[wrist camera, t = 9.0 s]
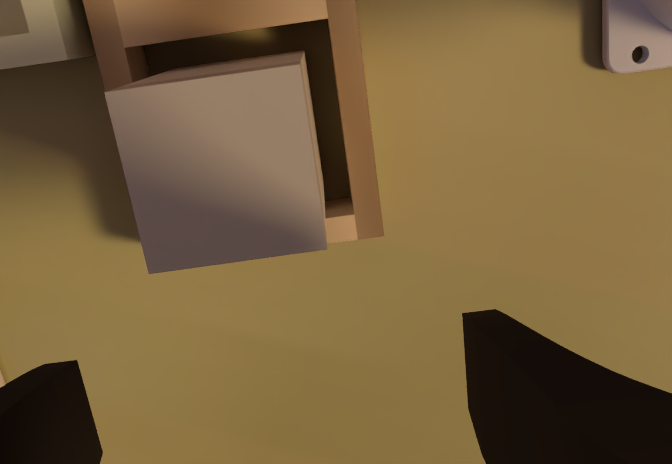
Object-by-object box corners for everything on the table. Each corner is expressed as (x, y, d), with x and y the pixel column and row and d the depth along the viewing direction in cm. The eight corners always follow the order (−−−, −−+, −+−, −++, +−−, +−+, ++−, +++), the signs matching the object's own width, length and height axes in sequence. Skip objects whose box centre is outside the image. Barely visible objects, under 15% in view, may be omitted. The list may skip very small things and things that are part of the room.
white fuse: (304, 49, 20) (299, 63, 13) (323, 176, 21) (327, 249, 14) (175, 68, 20) (104, 92, 13) (201, 193, 21) (148, 273, 14)
